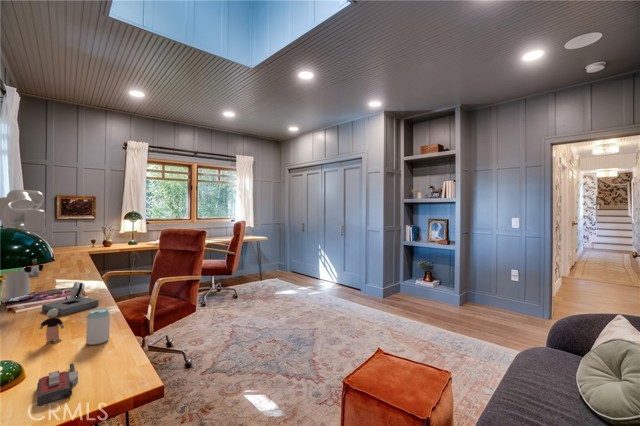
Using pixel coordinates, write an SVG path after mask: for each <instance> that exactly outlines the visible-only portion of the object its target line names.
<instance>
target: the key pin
mask: <svg viewBox="0 0 640 426" xmlns="http://www.w3.org/2000/svg"><path fill="white" fill-rule="evenodd" d="M38 277H40V271H39V265H37V266H32V267H31V268H30V273H28V278H30V279H32V278H38Z"/></svg>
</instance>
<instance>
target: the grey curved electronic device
mask: <svg viewBox="0 0 640 426" xmlns="http://www.w3.org/2000/svg"><path fill="white" fill-rule="evenodd" d="M85 286H86V284H85V283H83V282H79V281H76V282H74V284H73V285H72V288H71V290H70V292H71V296H70V297H68V299H70V298H74V297H76V296H77V297H82V295H83V293H84V290H85Z"/></svg>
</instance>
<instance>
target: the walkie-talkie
mask: <svg viewBox="0 0 640 426" xmlns="http://www.w3.org/2000/svg"><path fill="white" fill-rule="evenodd" d="M69 370H70V372H69V371H60V370H55V371H52V372H49V373H48V375H45V376H43V377H40V378H39V379H38V382H37V387H36V389H37V391H36V392H37V395H36V397H37V400H36V401H37V403H36V406H37V407H42V406H45V405H49V404H51V403H55V402H58V401H61V400H65V399H67V398H69V397H71V396H72V395H73V389H72V388H73V387H74V386H75V385H77V384H78V383H79V371H78V370H75V363H74V362H73V363H72V362H71V363H70V364H69ZM48 403H49V404H48ZM44 404H45V405H44Z"/></svg>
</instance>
